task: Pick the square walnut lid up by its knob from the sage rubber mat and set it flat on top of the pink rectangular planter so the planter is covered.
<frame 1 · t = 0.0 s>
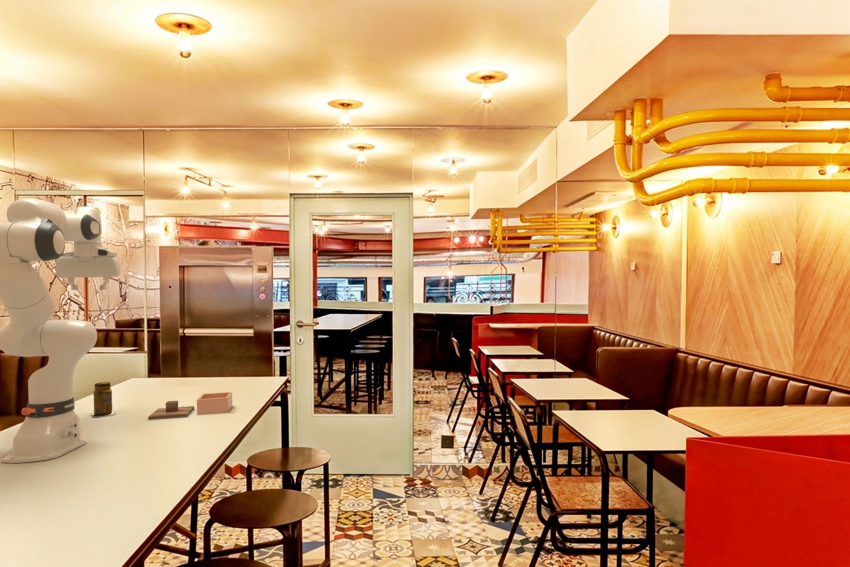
hand: (89, 289, 193), 48 cm above the table, fingers open, 8 cm apart
pink rectangular planter: (215, 411, 204), on the table
sage mat: (172, 415, 199), on the table
condiment: (103, 415, 203), on the table
walnut lid: (172, 414, 199), resting on sage mat
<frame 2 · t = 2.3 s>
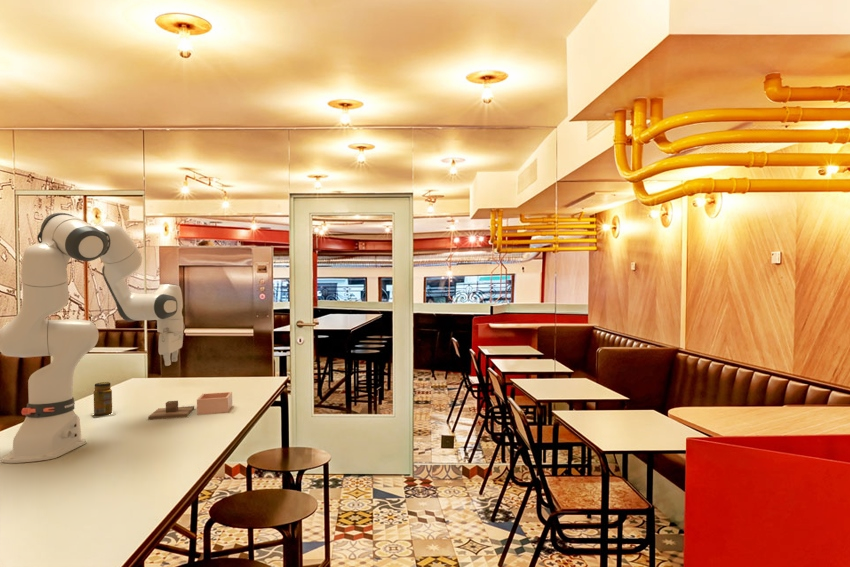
hand: (171, 363, 199), 20 cm above the table, fingers open, 8 cm apart
nothing on the table moved.
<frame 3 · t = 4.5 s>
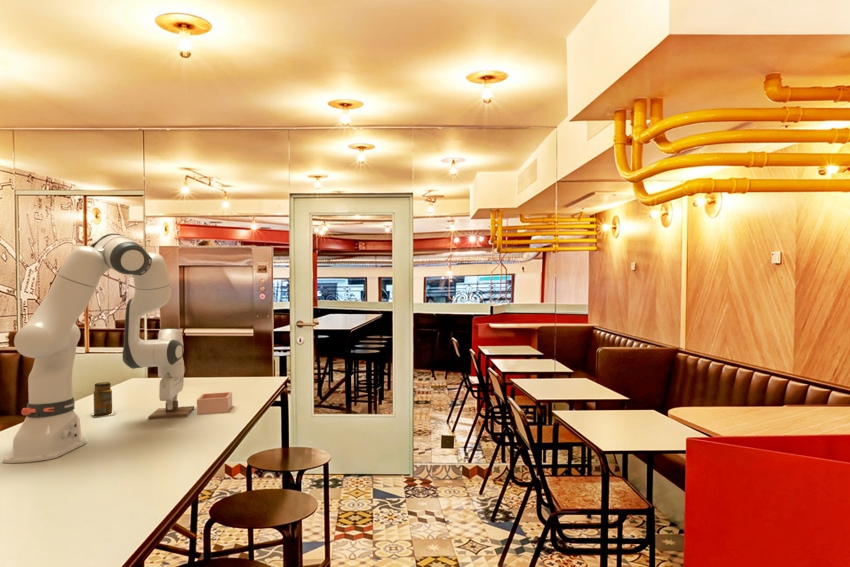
hand: (172, 407, 199), 3 cm above the table, fingers closed on walnut lid, 3 cm apart
walnut lid: (172, 414, 199), resting on sage mat, touching gripper
everything else where it was.
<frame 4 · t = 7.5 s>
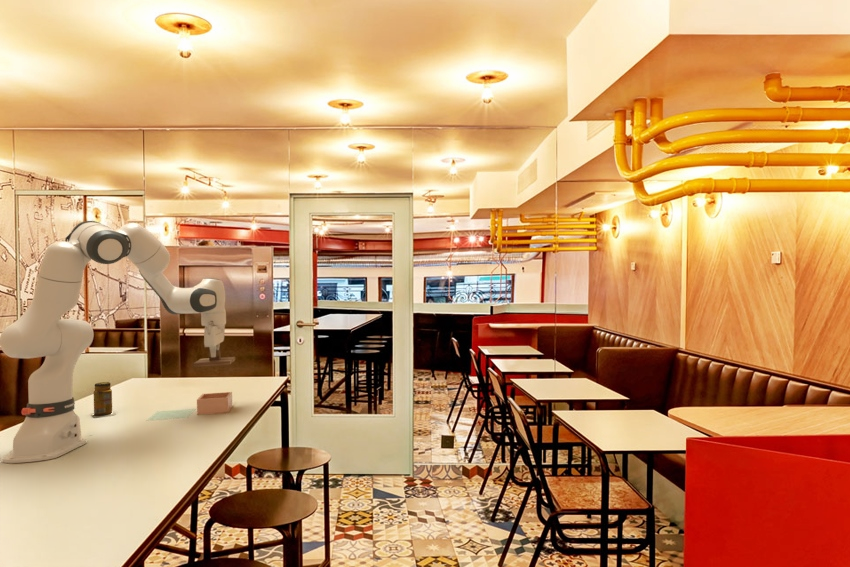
hand: (214, 356, 204), 21 cm above the table, fingers closed on walnut lid, 3 cm apart
walnut lid: (215, 363, 204), point 19 cm above the table, touching gripper
everything else where it was.
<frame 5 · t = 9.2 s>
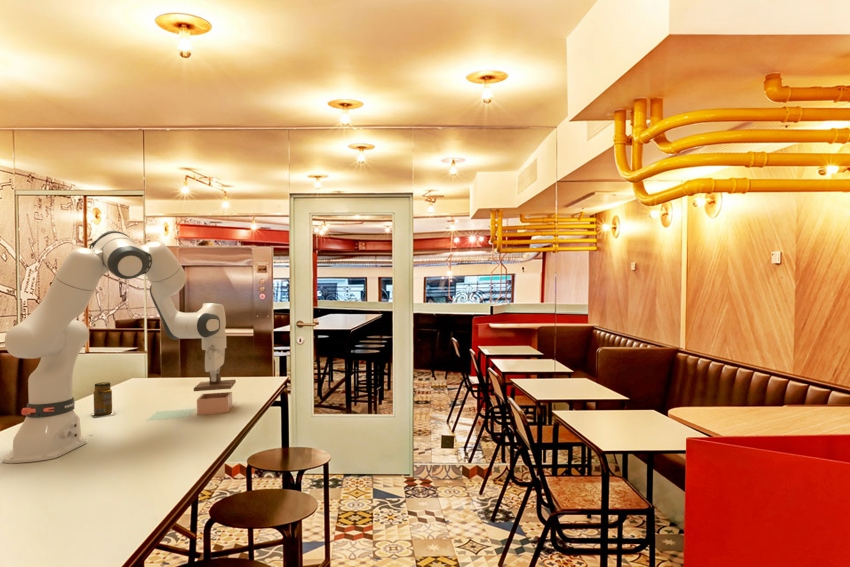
hand: (215, 380, 204), 12 cm above the table, fingers closed on walnut lid, 3 cm apart
walnut lid: (215, 386, 204), point 9 cm above the table, touching gripper
everything else where it was.
when the fingers open (9 cm above the table, at t = 10.5 s): walnut lid stays where it is, resting on pink rectangular planter.
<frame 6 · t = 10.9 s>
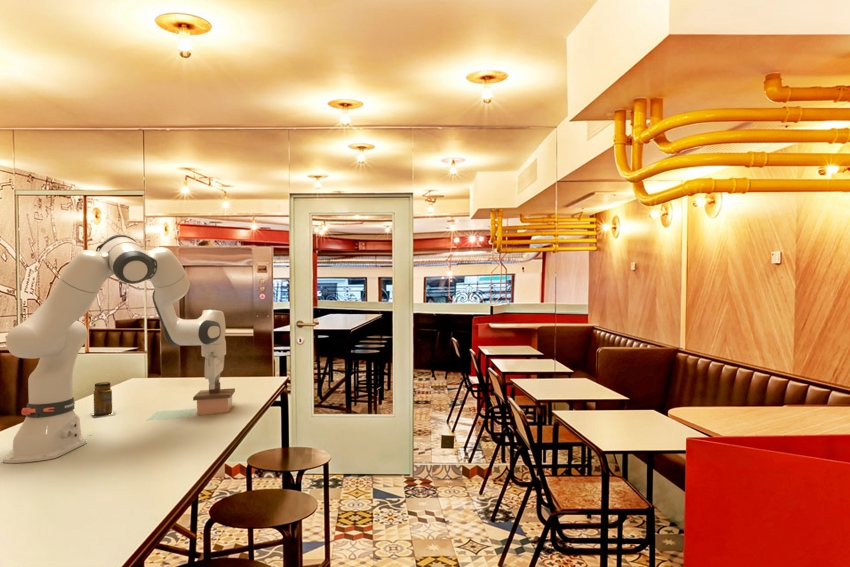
hand: (214, 386, 204), 9 cm above the table, fingers open, 8 cm apart
walnut lid: (214, 395, 204), point 6 cm above the table, touching pink rectangular planter
everything else where it was.
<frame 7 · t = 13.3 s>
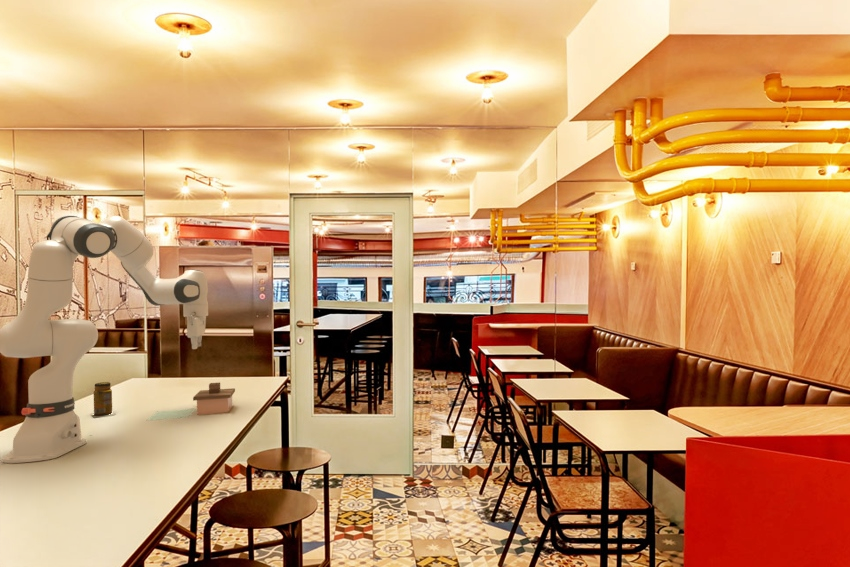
hand: (196, 347, 204), 25 cm above the table, fingers open, 8 cm apart
nothing on the table moved.
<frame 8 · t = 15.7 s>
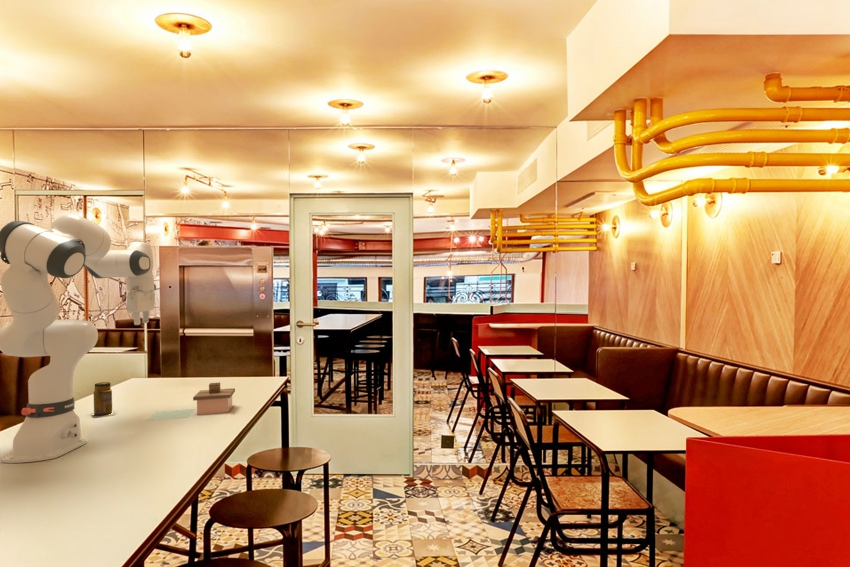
hand: (141, 323, 194), 35 cm above the table, fingers open, 8 cm apart
nothing on the table moved.
at the end: walnut lid 0.1 cm off-centre on the pink rectangular planter, point 6.0 cm above the pink rectangular planter's base; walnut lid tilted 0°; the gripper is holding nothing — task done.
